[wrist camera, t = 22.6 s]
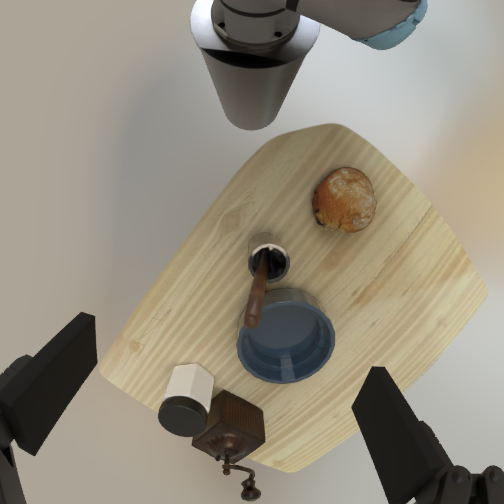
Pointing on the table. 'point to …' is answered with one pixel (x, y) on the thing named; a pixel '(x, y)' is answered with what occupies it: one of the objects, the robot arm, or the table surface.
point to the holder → (277, 258)
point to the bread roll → (344, 201)
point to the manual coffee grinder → (233, 436)
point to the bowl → (286, 338)
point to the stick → (257, 291)
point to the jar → (187, 401)
